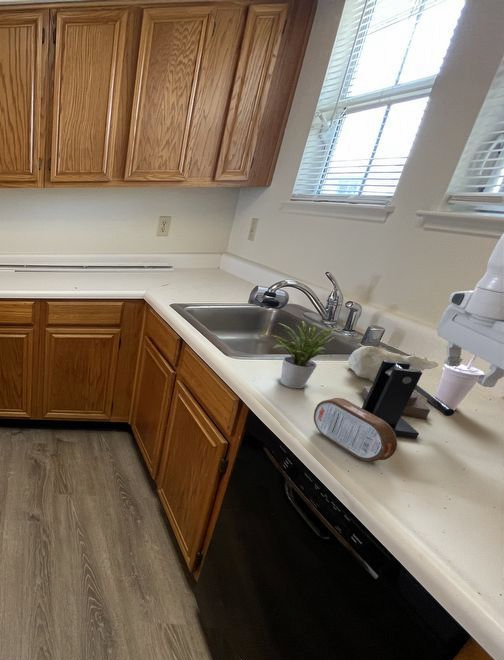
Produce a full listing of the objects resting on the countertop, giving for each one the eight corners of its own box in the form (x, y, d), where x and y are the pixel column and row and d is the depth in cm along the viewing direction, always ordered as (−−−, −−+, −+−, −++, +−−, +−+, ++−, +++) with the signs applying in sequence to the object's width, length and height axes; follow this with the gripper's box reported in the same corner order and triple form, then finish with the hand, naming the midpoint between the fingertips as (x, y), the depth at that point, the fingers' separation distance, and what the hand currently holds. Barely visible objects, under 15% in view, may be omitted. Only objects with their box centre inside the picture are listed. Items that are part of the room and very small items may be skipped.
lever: (429, 405, 88) (440, 398, 86) (446, 419, 83) (458, 411, 82) (380, 368, 87) (391, 360, 86) (394, 380, 82) (406, 371, 81)
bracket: (395, 418, 92) (423, 361, 86) (416, 438, 85) (448, 378, 79) (337, 411, 94) (360, 355, 88) (353, 430, 87) (380, 370, 81)
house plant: (292, 368, 115) (311, 311, 108) (341, 390, 103) (366, 328, 96) (250, 373, 112) (267, 315, 105) (295, 398, 100) (318, 334, 93)
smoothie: (469, 415, 93) (503, 358, 87) (433, 410, 95) (464, 354, 89) (453, 402, 99) (483, 347, 92) (419, 397, 100) (447, 343, 94)
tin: (387, 469, 76) (407, 430, 72) (373, 471, 75) (392, 432, 71) (317, 425, 89) (331, 390, 85) (305, 426, 88) (318, 391, 85)
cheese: (326, 376, 115) (373, 362, 101) (332, 353, 117) (380, 336, 102) (381, 398, 114) (437, 387, 99) (387, 374, 115) (442, 360, 101)
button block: (412, 402, 98) (420, 387, 97) (426, 418, 92) (434, 402, 90) (360, 393, 102) (366, 379, 100) (369, 408, 96) (376, 393, 94)
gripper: (579, 325, 65) (532, 402, 71) (484, 293, 83) (452, 356, 89) (528, 322, 67) (486, 397, 73) (445, 291, 85) (416, 354, 91)
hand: (467, 374), depth 81 cm, fingers open, 8 cm apart
